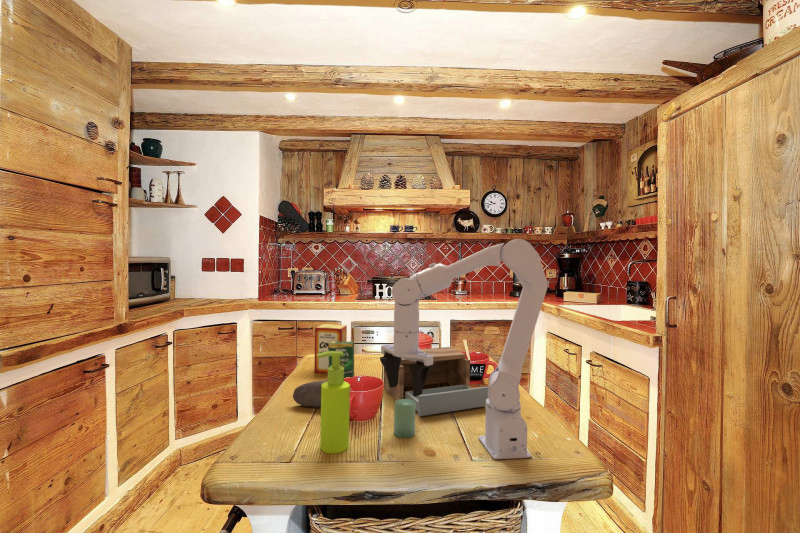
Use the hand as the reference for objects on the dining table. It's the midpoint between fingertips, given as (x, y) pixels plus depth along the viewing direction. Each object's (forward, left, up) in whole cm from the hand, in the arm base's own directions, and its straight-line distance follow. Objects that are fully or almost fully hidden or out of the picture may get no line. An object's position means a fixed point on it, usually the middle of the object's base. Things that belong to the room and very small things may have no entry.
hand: (405, 390), depth 88 cm
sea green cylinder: (0, 0, -10) cm, 10 cm away
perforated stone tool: (+18, +20, -10) cm, 29 cm away
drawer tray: (+17, -13, -10) cm, 23 cm away
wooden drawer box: (+28, -10, -10) cm, 31 cm away
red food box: (+51, +19, -10) cm, 55 cm away
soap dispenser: (-5, +16, -10) cm, 20 cm away
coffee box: (+37, +15, -10) cm, 41 cm away
